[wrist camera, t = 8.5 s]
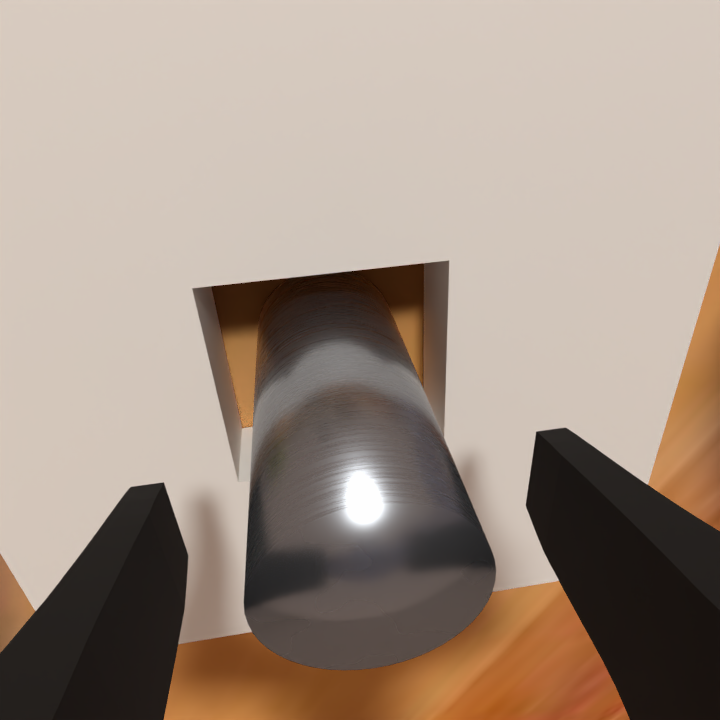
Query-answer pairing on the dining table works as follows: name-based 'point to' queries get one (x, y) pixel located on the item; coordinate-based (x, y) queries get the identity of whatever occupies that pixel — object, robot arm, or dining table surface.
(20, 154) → the hole plate
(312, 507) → the long pin
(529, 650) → the dining table surface
